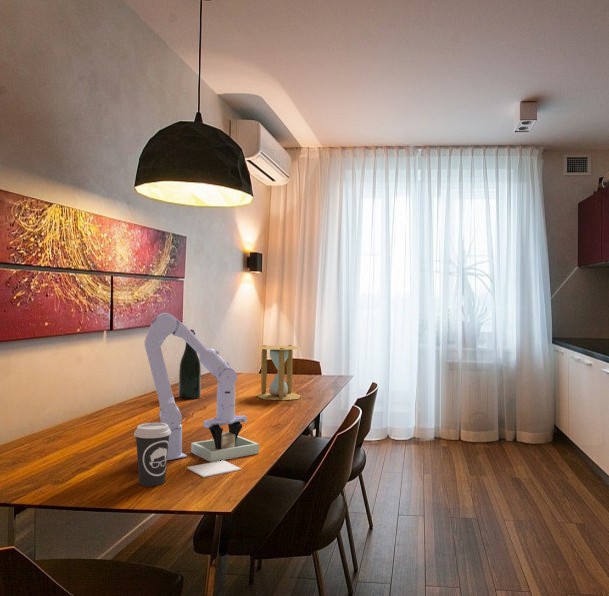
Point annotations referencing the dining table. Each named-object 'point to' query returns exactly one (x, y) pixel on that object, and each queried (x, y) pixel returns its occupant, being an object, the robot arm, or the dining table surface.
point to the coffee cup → (152, 452)
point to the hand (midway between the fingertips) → (225, 447)
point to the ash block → (227, 440)
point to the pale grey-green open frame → (206, 447)
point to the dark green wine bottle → (189, 374)
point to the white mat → (213, 468)
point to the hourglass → (278, 385)
